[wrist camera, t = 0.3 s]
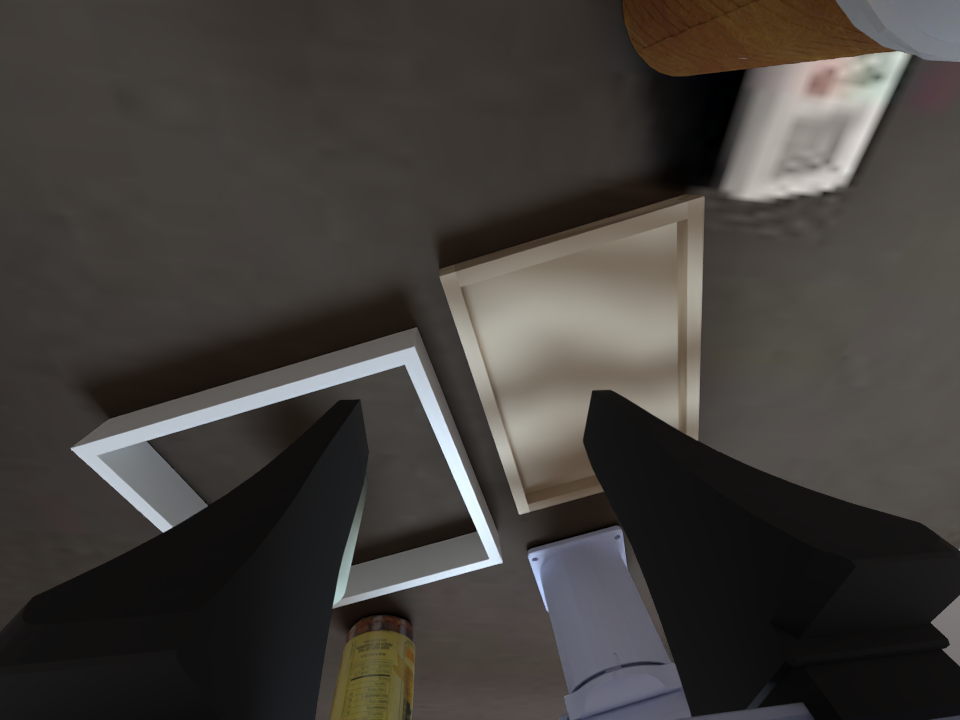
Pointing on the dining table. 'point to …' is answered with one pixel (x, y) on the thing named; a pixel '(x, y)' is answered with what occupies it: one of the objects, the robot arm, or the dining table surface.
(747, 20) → the disposable coffee cup
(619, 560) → the robot arm
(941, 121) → the dining table surface
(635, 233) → the birch tray
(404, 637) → the sauce bottle
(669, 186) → the dining table surface
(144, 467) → the white hollow square frame
